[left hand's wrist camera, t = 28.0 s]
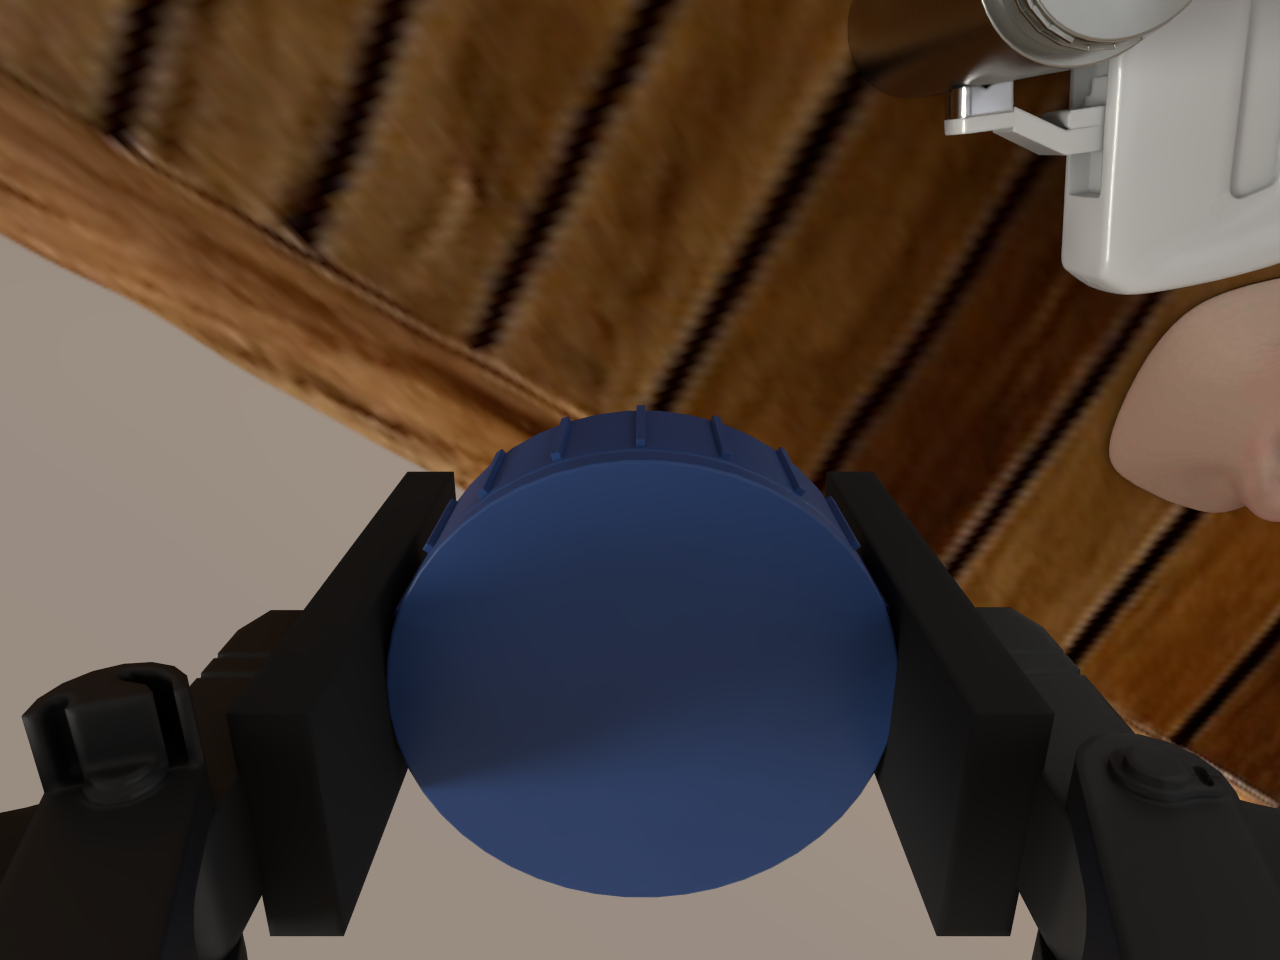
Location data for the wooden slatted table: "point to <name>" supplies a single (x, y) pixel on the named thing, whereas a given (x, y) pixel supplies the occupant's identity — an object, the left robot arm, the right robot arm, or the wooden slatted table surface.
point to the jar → (992, 39)
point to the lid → (642, 658)
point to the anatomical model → (1209, 408)
